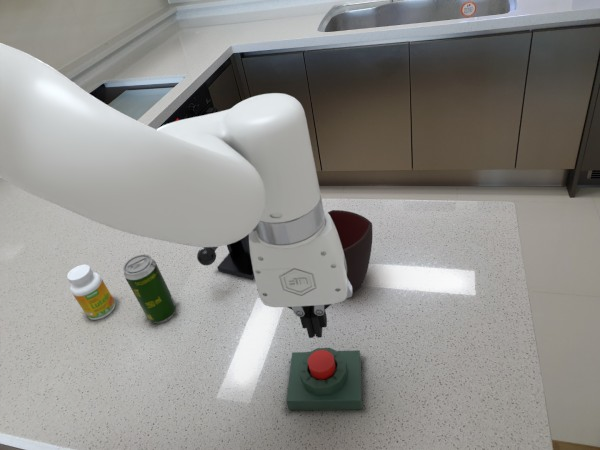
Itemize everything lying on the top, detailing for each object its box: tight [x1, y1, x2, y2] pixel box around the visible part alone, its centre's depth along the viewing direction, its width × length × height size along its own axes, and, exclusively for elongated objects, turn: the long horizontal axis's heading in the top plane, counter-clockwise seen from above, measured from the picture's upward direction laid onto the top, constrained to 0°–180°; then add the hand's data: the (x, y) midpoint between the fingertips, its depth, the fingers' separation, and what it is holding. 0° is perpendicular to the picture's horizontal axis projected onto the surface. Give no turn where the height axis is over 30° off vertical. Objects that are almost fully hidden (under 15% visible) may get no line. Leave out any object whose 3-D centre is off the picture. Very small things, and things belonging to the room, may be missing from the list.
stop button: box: [308, 350, 336, 380], centre depth 63 cm, size 4×4×2 cm
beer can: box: [122, 253, 177, 324], centre depth 79 cm, size 5×5×12 cm
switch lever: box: [196, 247, 219, 266], centre depth 82 cm, size 13×3×3 cm, turn 152°
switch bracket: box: [217, 234, 255, 281], centre depth 87 cm, size 10×8×13 cm
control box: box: [285, 347, 363, 411], centre depth 64 cm, size 10×8×4 cm
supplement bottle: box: [66, 264, 116, 321], centre depth 84 cm, size 5×5×10 cm
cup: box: [327, 209, 374, 294], centre depth 79 cm, size 10×14×12 cm
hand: (316, 328), depth 59 cm, fingers closed
